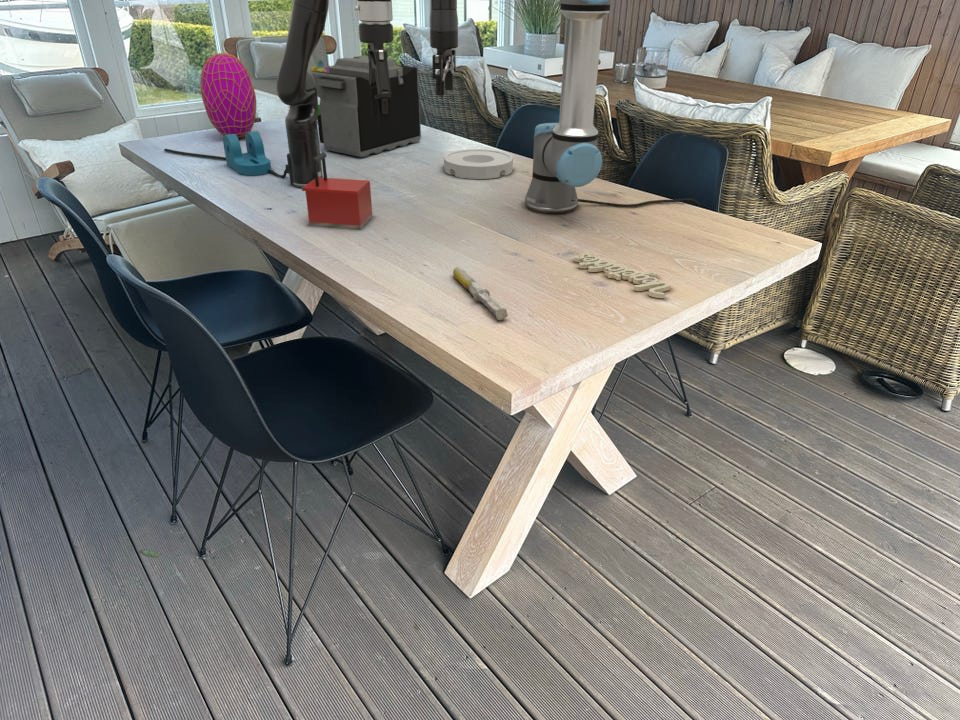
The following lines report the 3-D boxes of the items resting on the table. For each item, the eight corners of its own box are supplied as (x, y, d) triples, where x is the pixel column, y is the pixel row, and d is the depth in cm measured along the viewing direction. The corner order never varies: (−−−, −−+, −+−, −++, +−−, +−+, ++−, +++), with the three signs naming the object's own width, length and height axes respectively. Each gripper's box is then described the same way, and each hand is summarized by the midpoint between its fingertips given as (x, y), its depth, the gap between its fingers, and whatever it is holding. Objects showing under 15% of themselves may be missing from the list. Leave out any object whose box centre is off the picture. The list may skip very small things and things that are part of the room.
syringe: (449, 274, 155) (449, 263, 153) (465, 272, 156) (464, 260, 154) (490, 323, 135) (491, 310, 133) (508, 319, 136) (508, 307, 134)
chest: (309, 225, 182) (305, 191, 177) (323, 213, 191) (320, 180, 186) (360, 229, 180) (357, 194, 175) (372, 217, 188) (370, 183, 184)
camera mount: (227, 164, 233) (221, 132, 227) (257, 160, 238) (252, 129, 233) (244, 176, 220) (239, 143, 215) (276, 172, 225) (271, 139, 220)
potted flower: (318, 124, 289) (311, 60, 276) (313, 121, 295) (306, 58, 282) (340, 122, 293) (334, 59, 280) (334, 119, 298) (328, 56, 286)
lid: (302, 190, 177) (298, 159, 173) (317, 180, 186) (313, 149, 182) (357, 194, 175) (354, 162, 171) (370, 183, 184) (367, 152, 180)
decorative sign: (686, 282, 150) (660, 295, 144) (686, 286, 150) (659, 300, 144) (592, 249, 166) (565, 259, 160) (592, 253, 167) (565, 263, 161)
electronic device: (383, 133, 276) (378, 52, 261) (425, 141, 265) (422, 56, 250) (314, 150, 251) (304, 61, 235) (358, 160, 240) (350, 67, 224)
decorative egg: (226, 145, 255) (211, 58, 240) (200, 137, 266) (184, 53, 251) (271, 137, 268) (259, 54, 252) (244, 129, 279) (231, 49, 263)
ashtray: (446, 160, 241) (446, 148, 239) (512, 161, 241) (512, 149, 239) (441, 178, 221) (440, 165, 219) (512, 179, 221) (513, 167, 219)
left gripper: (438, 25, 189) (439, 88, 198) (422, 30, 177) (423, 96, 186) (464, 26, 188) (464, 89, 196) (449, 31, 176) (450, 97, 184)
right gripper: (352, 18, 161) (359, 112, 172) (364, 27, 140) (372, 134, 151) (384, 18, 163) (389, 111, 174) (401, 27, 142) (405, 133, 153)
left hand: (444, 92), depth 191 cm, fingers open, 8 cm apart
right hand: (381, 122), depth 162 cm, fingers open, 13 cm apart
